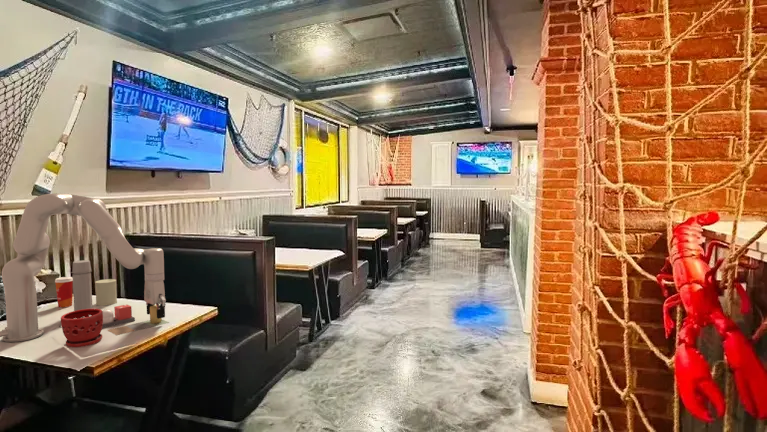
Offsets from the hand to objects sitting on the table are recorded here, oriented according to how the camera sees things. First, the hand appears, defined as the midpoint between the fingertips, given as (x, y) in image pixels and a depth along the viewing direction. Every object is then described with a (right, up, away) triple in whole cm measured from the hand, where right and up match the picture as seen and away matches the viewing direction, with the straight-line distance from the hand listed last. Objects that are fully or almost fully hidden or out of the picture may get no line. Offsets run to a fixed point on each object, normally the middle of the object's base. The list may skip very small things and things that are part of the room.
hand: (155, 315), depth 192 cm
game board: (-4, -4, -5) cm, 8 cm away
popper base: (-18, -3, -1) cm, 18 cm away
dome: (-20, -3, -3) cm, 20 cm away
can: (-42, -1, +32) cm, 53 cm away
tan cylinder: (0, -3, 0) cm, 3 cm away
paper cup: (-59, -1, +27) cm, 65 cm away
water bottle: (-41, -3, +13) cm, 43 cm away
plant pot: (-15, -5, -24) cm, 29 cm away
